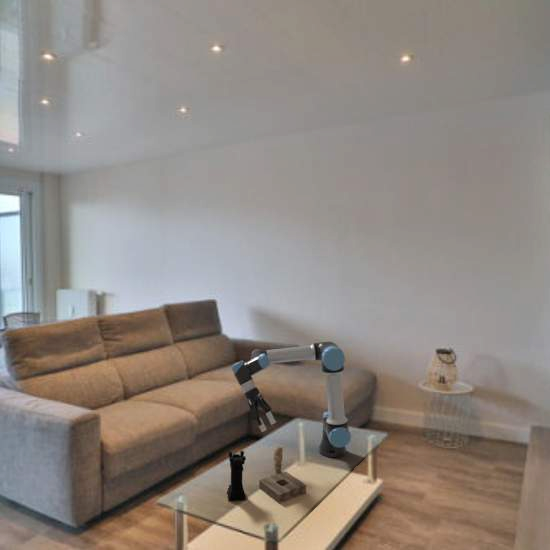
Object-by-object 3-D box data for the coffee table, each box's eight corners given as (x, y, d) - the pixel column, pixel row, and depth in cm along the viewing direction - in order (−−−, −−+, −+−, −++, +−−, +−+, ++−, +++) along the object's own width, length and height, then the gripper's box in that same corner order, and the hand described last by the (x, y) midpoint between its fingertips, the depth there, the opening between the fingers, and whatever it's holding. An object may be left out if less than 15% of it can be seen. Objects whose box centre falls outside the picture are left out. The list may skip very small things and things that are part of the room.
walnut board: (285, 479, 240) (285, 471, 240) (306, 493, 227) (306, 484, 227) (259, 488, 230) (259, 480, 230) (279, 503, 218) (279, 494, 217)
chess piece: (228, 501, 218) (229, 459, 217) (226, 492, 226) (227, 451, 225) (245, 500, 220) (246, 458, 218) (243, 491, 228) (244, 450, 226)
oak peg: (278, 469, 250) (279, 445, 249) (283, 472, 246) (284, 448, 246) (271, 471, 247) (272, 447, 246) (276, 475, 244) (277, 450, 243)
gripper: (253, 388, 262) (271, 423, 258) (234, 398, 239) (254, 437, 235) (264, 382, 260) (283, 417, 256) (246, 391, 237) (266, 430, 233)
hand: (269, 427), depth 246 cm, fingers open, 13 cm apart
